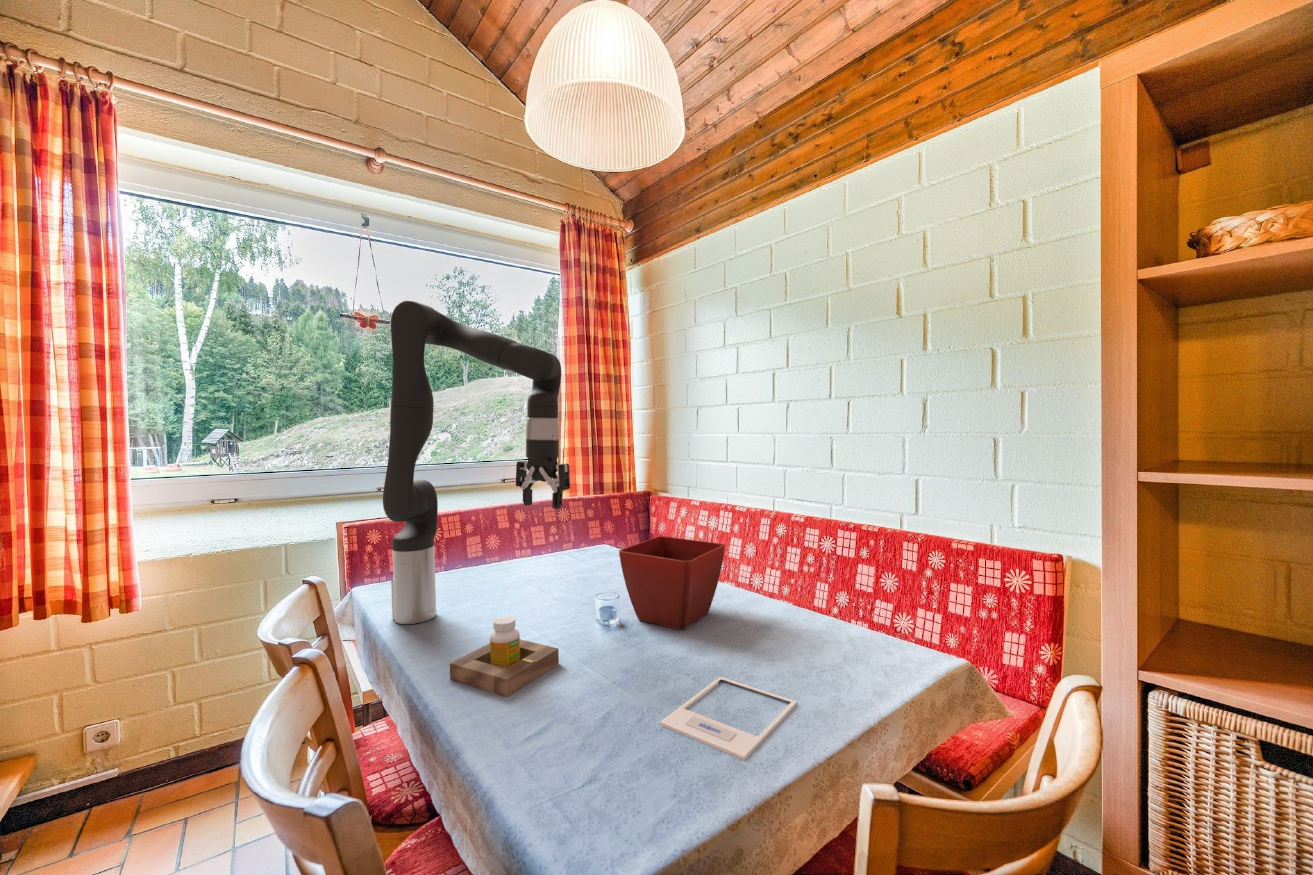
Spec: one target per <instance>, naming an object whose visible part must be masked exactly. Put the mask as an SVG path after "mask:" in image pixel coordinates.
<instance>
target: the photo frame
mask: <svg viewBox="0 0 1313 875" xmlns="http://www.w3.org/2000/svg"><path fill="white" fill-rule="evenodd" d="M720 681H722V682H723V681H724V682H726V683H730V684H733V685H735V686H739V687H742V688H745V689H748V690H750V691H751V690H752V691H754V692H757V693H761V694H764V695H766V696H770V697H772V698H775V699H780V700H783V701H785V702H788V703H789V704H788V705H787V706H786V707H785V708H784V709H783V710H782V711H781V712H780V713H779V714H778V716H776V717H775V719H773V721H772V722H770V723H769V724H768V726H766V728H765V729H764V730H762V732H761V733H760V734H759V735H758V736H756V735H754V734H752V733H750V732H746V731H743V730H740V729H738V728H735V727H733V726H730V725H727V724H726V723H722V722H720V721H718V720H714V719H712V718H709V717H707V716H705V715H702V714H699V713H696V712H693V711H691V710H688V708H690V707H691V706H692V705H694V704H695V703H696V702H697V701H698V700H700V699H701V698H702V697H703V696H705V695H706V694H708V693H709V692H710V691H711V690H713V689H714V688H716V687H717V686H718V685H719V683H720ZM797 705H798V701H796V700H794V699H790V698H787V697H784V696H781V695H778V694H775V693H773V692H769V691H766V690H762V689H761V688H760V689H759V688H756V687H754V686H750V685H747V684H744V683H741V682H739V681H735V680H732V679H728V678H727V677H722V676H719V677H718V678H716V679H715V680H713V681H712V682H711V683H709V685H707V686H705V688H703V689H702V690H700V691H699V692H698V693H696V694H695V695H694V696H692V697H691V698H690V699H688V700H687V701H685V702H684V703H683V704H682V705H680V706H679V707H677V708H676V709H675V710H674V711H672V712H671V713H670V714H668V715H666V717H664V718H663V719H662V720H660V721H659V726H660V727H661V726H662V727H663V728H666V729H668V730H671V731H673V732H676V733H678V734H680V735H683V736H685V737H687V738H689V739H692V740H694V741H697V742H699V743H700V744H701V743H702V744H704V745H707V746H709V747H711V748H713V749H716V750H719V751H721V752H724V753H726V754H728V755H730V756H733V757H735V758H737V759H739V760H742V761H745V760H746V759H747V758H748V757H749V756H750V755H751V754H752V753H753V752H754V751H755V749H757V748H758V746H759V745H760V744H761V743H762V742H763V741H764V740H765V739H766V738H767V737H768V736H769V735H770V734H771V733H772V731H774V729H775V728H777V726H778V725H779V724H780V723H781V722H782V721H783V720H784V719H785V718H786V717H787V716H788V715H789V713H790V712H792V711H793V709H794V708H795V707H796V706H797Z"/></svg>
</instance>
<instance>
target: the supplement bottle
mask: <svg viewBox="0 0 1313 875" xmlns="http://www.w3.org/2000/svg"><path fill="white" fill-rule="evenodd" d="M489 636H490V637H489V643H490V652H491V665H494V666H498V667H502V668H505V669H506V668H508V667H510V666H512V665H513V664H515V663H517V662H519V661H520V638H521V637H520V631H519V629H518V628H516V618H515V617H513V616H500V617H497V618H495V619H494V620H493V631H492V632H491V633H490V635H489Z"/></svg>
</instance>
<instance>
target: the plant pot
mask: <svg viewBox="0 0 1313 875" xmlns="http://www.w3.org/2000/svg"><path fill="white" fill-rule="evenodd" d="M725 550H726V544H724V543H720V542H719V543H717V542H710V541H704V540H703V541H702V540H697V539H695V540H694V539H690V538H688V539H687V538H681V537H673V536H665V535H660V536H655V537H653V538H650V539H647V540H644V541H642V542H639V543H635V544H632V545H630V546H627V547H625V548H624V547H623V548H621V549H619V550H618V556H619V562H620V568H621V571H622V574H623V575H622V576H623V580H624V583H625V587H626V590H627V594H628V597H629V599H630V603H631V604H632V608H633V611H634V613H635V615H636V617H637V620H640V621H643V622H647V623H650V624H656V625H660V626H665V627H667V628H672V629H676V630H681V631H682V630H685V629H687V628H689V627H690V626H692V625H693V624H694V623H696V622H697V621H699V620H700V619H702V618H703V617H705V616H707V615H708V613H709V612H710V609H711V607H712V604H713V601H714V597H715V594H716V590H717V587H718V584H719V581H720V576H721V571H722V566H723V562H724V556H725Z"/></svg>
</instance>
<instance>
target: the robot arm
mask: <svg viewBox="0 0 1313 875" xmlns="http://www.w3.org/2000/svg"><path fill="white" fill-rule="evenodd" d="M390 317H391V318H390V336H391V337H390V338H391V352H392V371H391V372H392V376H391V379H392V380H391V400H390V416H389V417H390V418H389V421H390V422H389V425H390V430H389V445H388V457H387V466H386V473H385V478H384V483H383V491H382V506H383V511H384V513H385V516H386V517H387V519H389V521H392V522H393V523H403V522H405V523H404V526H403V528H402V529H401V530H400V531H399V532H397V534H395V535H394V536H393V537H392V539H391V548H392V552H391V553H392V577H393V578H391V580H390V584H391V588H390V589H391V607H392V608H391V613H392V616H391V617H392V619H394V622H395V623H396V624H400V625H414V624H415V625H416V624H420V623H424V622H427V621H430V620H432V619H434V618H435V617H436V616H437V596H436V595H437V594H436V593H437V591H436V589H437V588H436V564H435V561H436V560H435V538H436V536H437V531H438V512H439V510H438V506H439V505H438V504H439V503H438V494H437V491H436V488H435V486H434V485H433V484H432V483H431V482H430V481H428V480H426V479H416V480H415V479H414V478H415V477H414V475H415V467H416V464H417V461H418V458H419V455H420V453H421V452H422V450H423V448H424V447H425V445H426V443H427V441H428V439H429V437H430V435H431V432H432V429H433V427H434V426H433V423H434V410H435V409H434V405H435V404H434V401H435V400H434V394H433V391H432V388H431V384H430V381H429V378H428V374H427V372H426V366H425V350H426V345H427V344H428V345H434V346H438V347H446V348H449V349H452V350H456V351H459V352H462V353H463V354H466V355H468V356H470V357H472V358H474V359H476V360H478V361H481V362H483V363H485V364H489V365H491V366H494V367H497V368H500V369H503V370H507V371H511V372H514V373H516V374H518V375H520V376H523V377H526V378H527V379H531V380H532V387H531V393H530V394H529V395H528V397H527V402H526V404H527V405H526V407H527V408H526V410H527V414H526V415H527V416H526V417H527V419H526V426H525V456H526V458H527V460H518V461H517V462H516V467H515V468H516V469H515V486H516V487H519V488H521V490H522V503H523V505H524V506H532V505H533V489H532V488H533V487H534V486H535V483H537V482H543V483H545V482H546V484H547V485H548V486H550V488H551V490H552V491H553V492H552V502H551V503H552V505H551V506H552V509H554V510H558V509H561V507H562V506H563V493H564V491H567V490H570V489H571V479H570V478H571V476H570V474H571V472H570V464H569V463H561V464H560V463H559V462H558V459H559V456H560V426H559V402H558V401H559V394H560V388H561V381H562V365H561V362H560V359H559V358H558V357H557V356H556V355H554V354H552V353H550V352H549V351H545V350H542V349H539V348H537V347H533V346H529V345H526V344H522V343H519V342H517V341H515V340H513V339H510V338H508V337H504V336H503V335H498V334H496V333H493V332H489V331H485V330H481V329H478V328H474V327H471V326H467V325H464V324H463V323H460V322H459V321H456V320H453V319H451V318H450V317H448V316H446V315H444V314H443V313H441V312H439V311H437V310H436V309H434V308H433V307H431V306H429V305H426V304H423V303H421V302H418V301H415V300H402V301H400V302H399V303H398V304H397V305H395V307H394V308H393V310H392V313H391V316H390Z"/></svg>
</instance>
